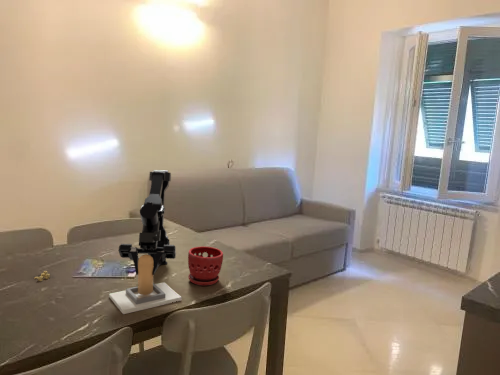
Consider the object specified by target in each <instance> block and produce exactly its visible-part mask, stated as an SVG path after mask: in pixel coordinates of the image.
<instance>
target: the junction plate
mask: <svg viewBox="0 0 500 375" xmlns="http://www.w3.org/2000/svg"><path fill="white" fill-rule="evenodd" d="M108 295H109V299H110V300H111V301H112V302H113V303H114V305H115V306H116V308H117V309H118V310H119V311H120V312H121V313H122V315H125V314H129V313H134V312H138V311H143V310H147V309H151V308H156V307H159V306H163V305H164V306H165V305H169V304H172V302H173V303H176V301H177V302H180V301H182V296H181V295H180V294H178V293H177V292H176V291H175V290H174V289H172V288H171V287H170V286H169V285H168V284H167V283H166V282H160V283H154V282H153V292H152V293H151V294H147V295H142V294H139V293H138V285H137V286H133V287H128V288H125V290H122V291H121V290H120V291H116V292H112V293H111V292H110V293H109V294H108Z"/></svg>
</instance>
